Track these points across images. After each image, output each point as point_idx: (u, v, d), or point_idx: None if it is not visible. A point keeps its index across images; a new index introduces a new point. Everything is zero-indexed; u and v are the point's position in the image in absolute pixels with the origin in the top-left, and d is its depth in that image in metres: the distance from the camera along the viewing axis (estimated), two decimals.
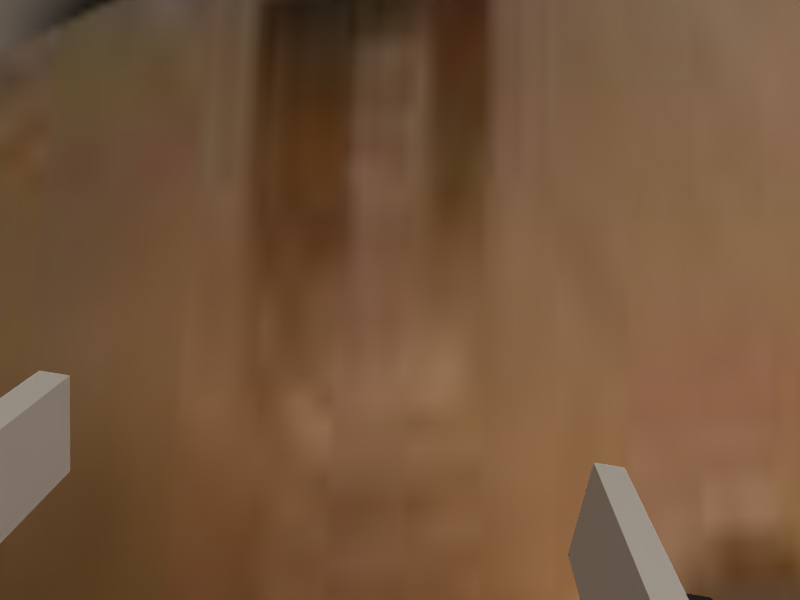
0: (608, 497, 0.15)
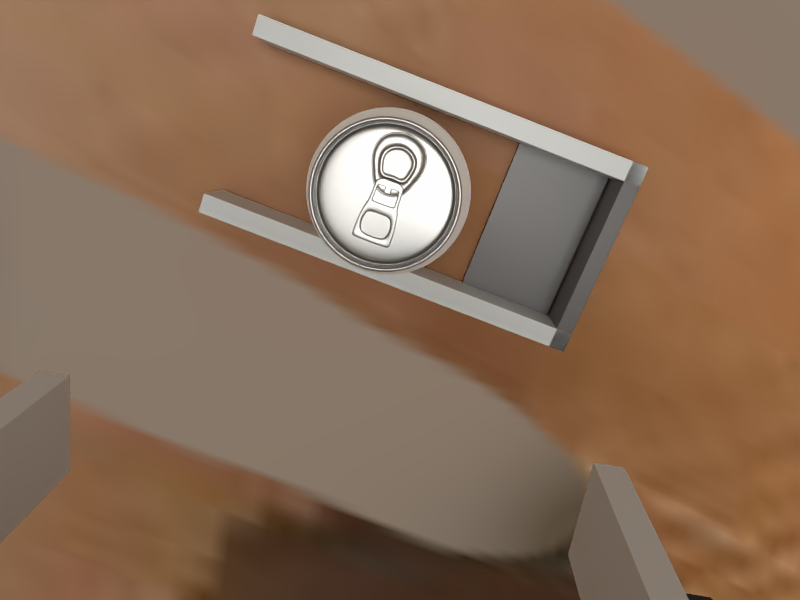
0: (608, 497, 0.15)
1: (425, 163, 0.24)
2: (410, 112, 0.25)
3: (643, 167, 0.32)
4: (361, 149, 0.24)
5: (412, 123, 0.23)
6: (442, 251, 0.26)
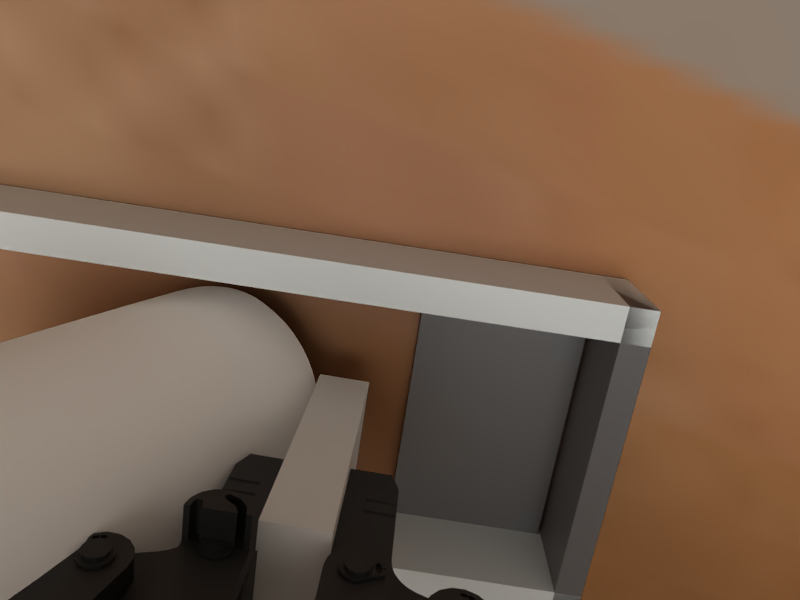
0: (334, 401, 0.17)
1: None
2: None
3: (651, 313, 0.17)
4: None
5: None
6: None
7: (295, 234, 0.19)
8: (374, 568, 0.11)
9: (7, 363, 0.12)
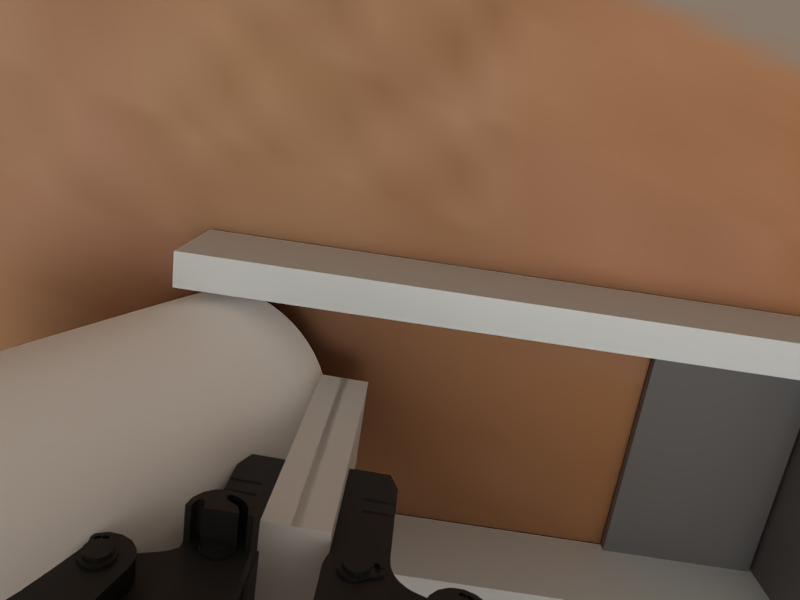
0: (334, 401, 0.17)
1: None
2: None
3: None
4: None
5: None
6: None
7: (542, 283, 0.20)
8: (372, 568, 0.11)
9: (18, 363, 0.13)
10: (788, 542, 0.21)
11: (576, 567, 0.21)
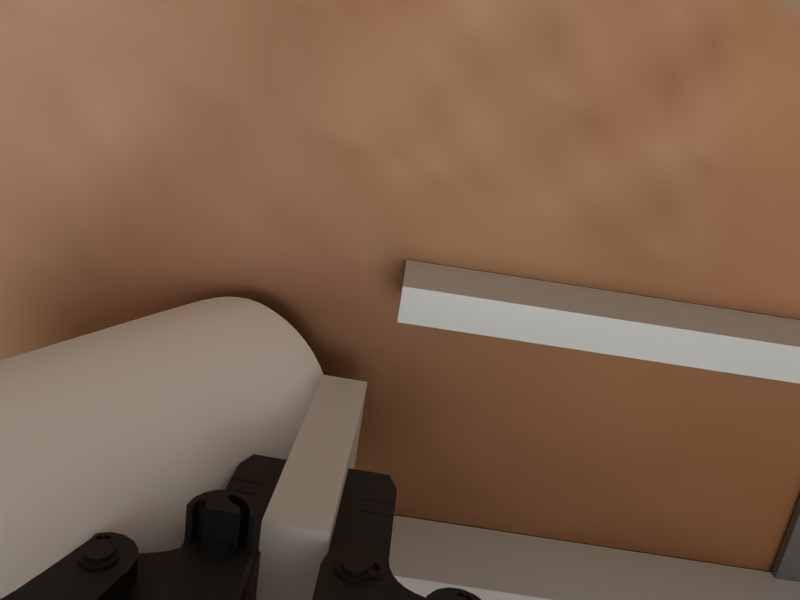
0: (333, 400, 0.17)
1: None
2: None
3: None
4: None
5: None
6: None
7: (743, 316, 0.20)
8: (371, 568, 0.11)
9: (15, 370, 0.13)
10: None
11: (757, 596, 0.22)
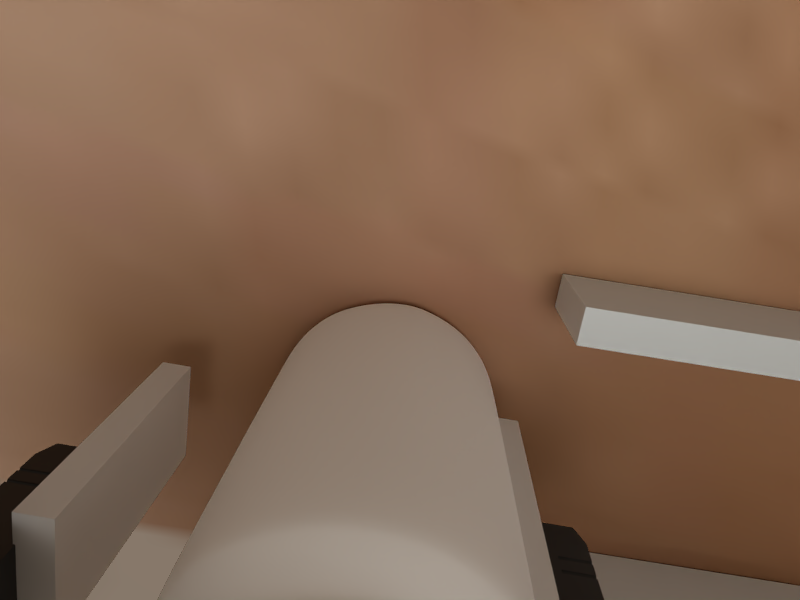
0: None
1: None
2: (323, 533, 0.09)
3: None
4: None
5: None
6: None
7: None
8: None
9: (373, 425, 0.12)
10: None
11: None
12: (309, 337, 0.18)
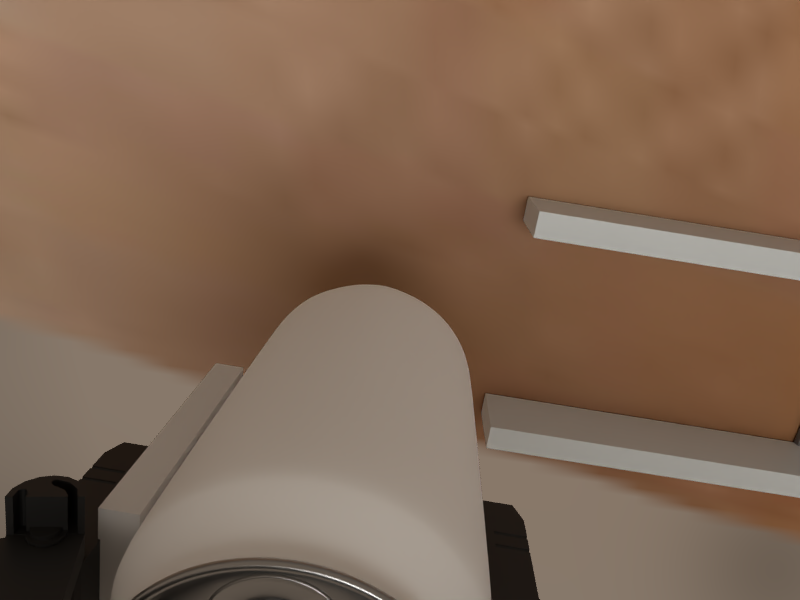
0: None
1: None
2: (263, 483, 0.10)
3: None
4: None
5: (260, 565, 0.09)
6: None
7: (782, 239, 0.26)
8: None
9: (325, 391, 0.13)
10: None
11: (784, 455, 0.29)
12: (284, 321, 0.19)
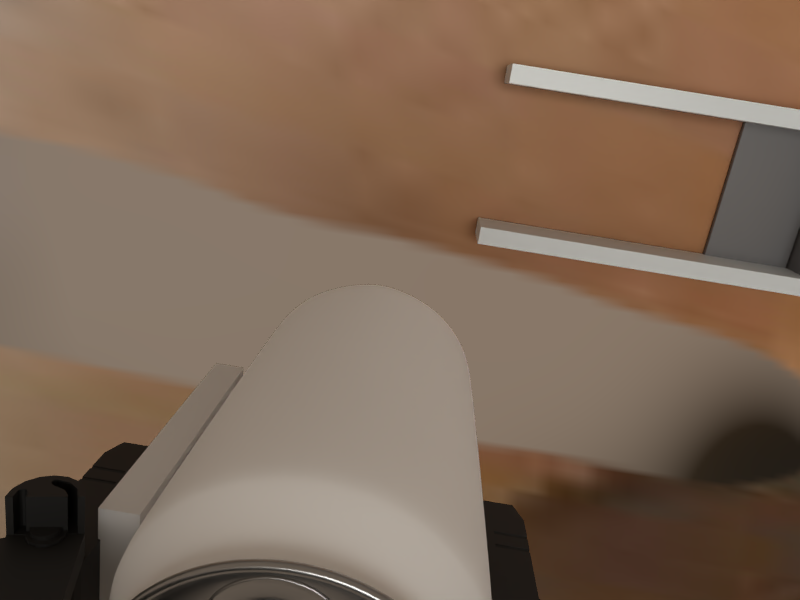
0: None
1: None
2: (263, 484, 0.10)
3: None
4: None
5: (260, 567, 0.09)
6: None
7: None
8: None
9: (325, 390, 0.13)
10: None
11: (693, 256, 0.40)
12: (284, 321, 0.19)
